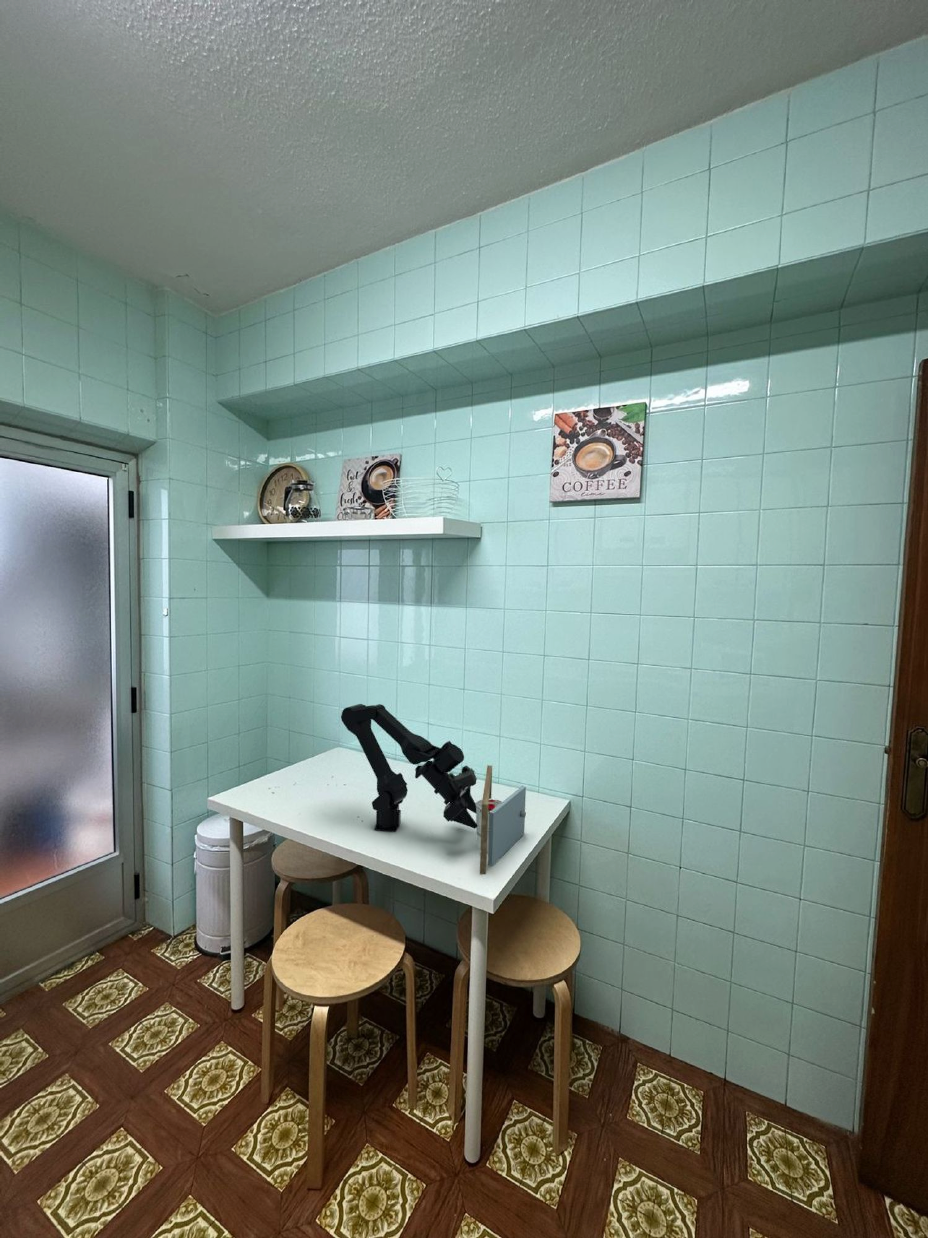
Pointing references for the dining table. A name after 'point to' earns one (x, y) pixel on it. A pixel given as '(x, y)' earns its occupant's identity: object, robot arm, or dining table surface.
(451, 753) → the robot arm
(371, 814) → the dining table surface
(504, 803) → the door
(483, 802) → the door frame
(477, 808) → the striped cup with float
